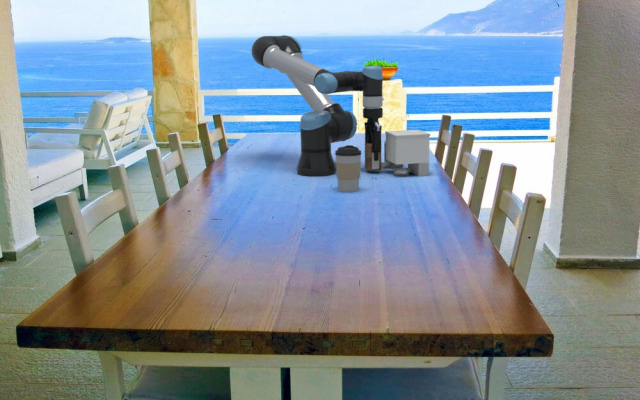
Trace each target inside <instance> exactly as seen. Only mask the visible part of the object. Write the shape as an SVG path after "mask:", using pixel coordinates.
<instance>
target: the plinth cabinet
mask: <svg viewBox="0 0 640 400" xmlns="http://www.w3.org/2000/svg"><path fill="white" fill-rule="evenodd" d="M430 137H431V133H429V132H426V131H422V130H421V129H409V130H408V129H407V130H392V131H391V130H389V131H388V130H387V131H386V130H385V140H386V160H388V161H390V162H392V163H394V164H396V165H397V164H403V165H407V168H410V173H412V174H414V175H415V176H418V177H426V176H425V175H429V176H430V174H429V173H430V139H431V138H430Z"/></svg>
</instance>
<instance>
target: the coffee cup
mask: <svg viewBox="0 0 640 400" xmlns="http://www.w3.org/2000/svg"><path fill="white" fill-rule="evenodd" d="M334 155H335V166H336V178H337V188H338V191H339V192H343V193H352V192H358V191H359V189H360V178H361V165H362V159H361V156H362V150H361V149H359V147H357V146H354V145H350V144H348V145H345V146H340V147H338V148H337V149H336V150H335V151H334Z"/></svg>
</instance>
